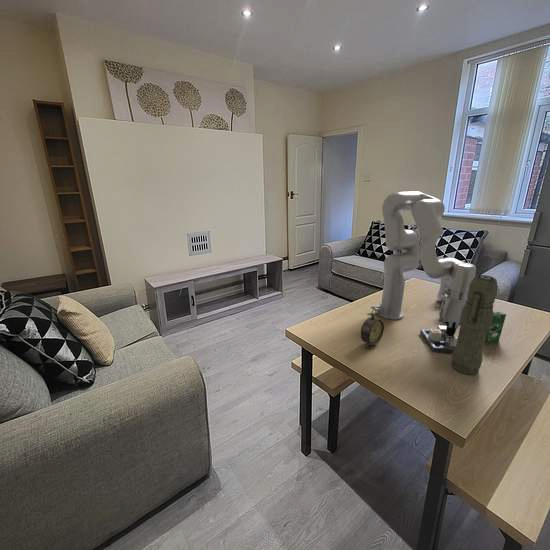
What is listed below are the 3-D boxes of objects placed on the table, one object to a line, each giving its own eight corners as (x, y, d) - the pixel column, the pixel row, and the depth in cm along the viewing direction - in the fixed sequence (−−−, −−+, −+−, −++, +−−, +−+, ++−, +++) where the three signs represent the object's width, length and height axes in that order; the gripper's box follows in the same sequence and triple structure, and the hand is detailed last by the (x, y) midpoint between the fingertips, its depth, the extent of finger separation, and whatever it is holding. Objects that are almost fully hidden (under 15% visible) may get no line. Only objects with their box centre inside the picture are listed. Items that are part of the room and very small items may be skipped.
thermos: (482, 365, 107) (505, 275, 96) (475, 381, 99) (499, 285, 88) (454, 356, 113) (473, 270, 102) (446, 370, 105) (465, 278, 93)
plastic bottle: (452, 303, 159) (459, 269, 153) (439, 303, 159) (446, 269, 153) (445, 299, 165) (452, 265, 159) (434, 299, 165) (440, 265, 159)
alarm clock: (368, 351, 116) (372, 315, 111) (356, 346, 120) (360, 310, 115) (383, 342, 123) (387, 307, 117) (371, 337, 127) (375, 303, 121)
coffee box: (493, 338, 125) (500, 310, 121) (499, 341, 122) (507, 313, 118) (478, 341, 123) (485, 313, 119) (484, 344, 120) (492, 316, 116)
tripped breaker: (430, 342, 120) (432, 331, 118) (428, 338, 123) (429, 328, 121) (440, 342, 120) (442, 332, 118) (437, 338, 123) (439, 328, 121)
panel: (432, 352, 115) (434, 341, 113) (420, 333, 129) (421, 323, 127) (462, 354, 114) (465, 343, 112) (446, 335, 128) (448, 324, 126)
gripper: (442, 296, 111) (434, 338, 117) (484, 298, 109) (473, 341, 115) (434, 289, 118) (427, 329, 124) (474, 291, 116) (464, 331, 122)
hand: (449, 334), depth 120 cm, fingers closed
